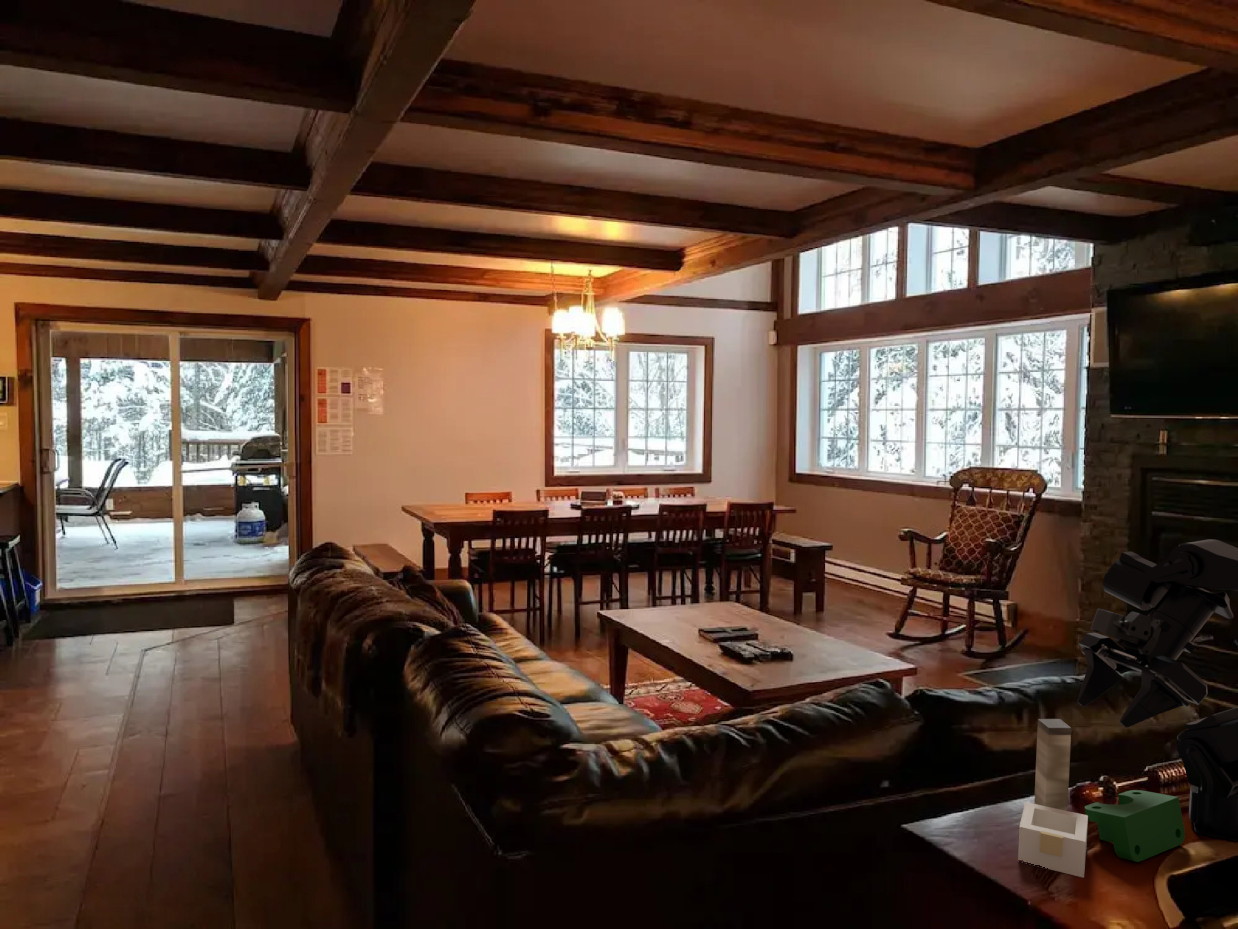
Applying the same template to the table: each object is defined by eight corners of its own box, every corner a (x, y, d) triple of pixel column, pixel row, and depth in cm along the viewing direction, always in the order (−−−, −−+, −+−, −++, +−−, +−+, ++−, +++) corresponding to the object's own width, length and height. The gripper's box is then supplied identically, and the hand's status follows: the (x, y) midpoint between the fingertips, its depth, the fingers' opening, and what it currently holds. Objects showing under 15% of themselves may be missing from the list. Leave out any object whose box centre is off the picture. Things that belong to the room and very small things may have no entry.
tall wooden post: (1055, 809, 120) (1059, 719, 119) (1066, 820, 117) (1071, 727, 116) (1034, 809, 120) (1037, 719, 119) (1044, 820, 117) (1048, 728, 116)
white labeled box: (1086, 849, 110) (1088, 814, 110) (1083, 880, 103) (1085, 843, 103) (1023, 834, 114) (1025, 801, 113) (1017, 863, 107) (1018, 828, 106)
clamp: (1136, 862, 115) (1141, 791, 118) (1182, 874, 110) (1186, 799, 112) (1076, 846, 111) (1082, 773, 113) (1121, 857, 105) (1126, 780, 108)
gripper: (1086, 577, 126) (1019, 660, 126) (1177, 599, 108) (1099, 697, 107) (1142, 624, 127) (1076, 708, 127) (1242, 655, 108) (1165, 752, 108)
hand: (1100, 714), depth 117 cm, fingers open, 9 cm apart
